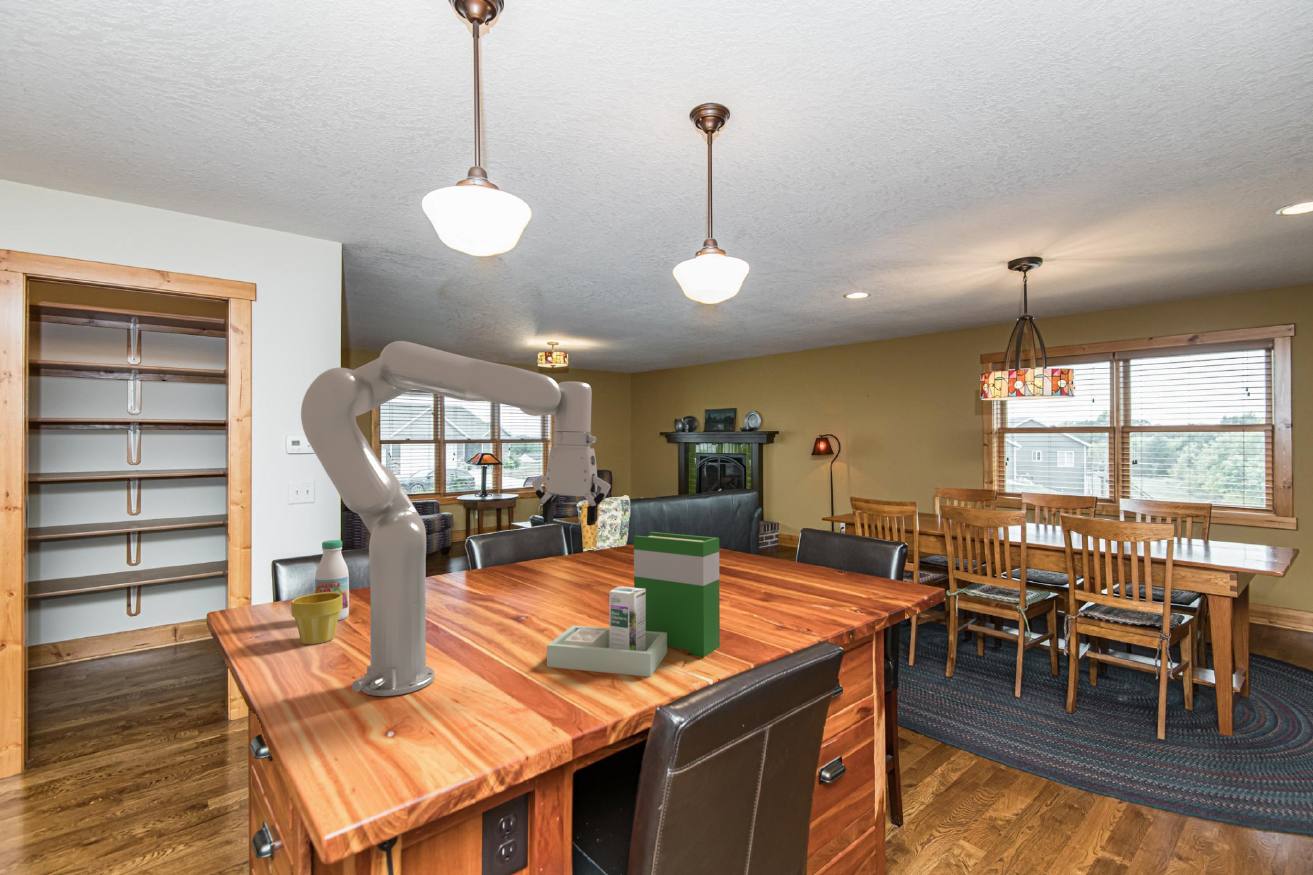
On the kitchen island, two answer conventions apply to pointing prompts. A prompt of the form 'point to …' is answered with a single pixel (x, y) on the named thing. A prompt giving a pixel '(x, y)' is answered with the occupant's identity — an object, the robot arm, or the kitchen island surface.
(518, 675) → the kitchen island surface
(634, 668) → the tote
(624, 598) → the syrup box
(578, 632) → the white toy brick
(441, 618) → the kitchen island surface
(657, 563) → the hardback book
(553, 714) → the kitchen island surface
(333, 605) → the plant pot
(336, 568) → the milk bottle
